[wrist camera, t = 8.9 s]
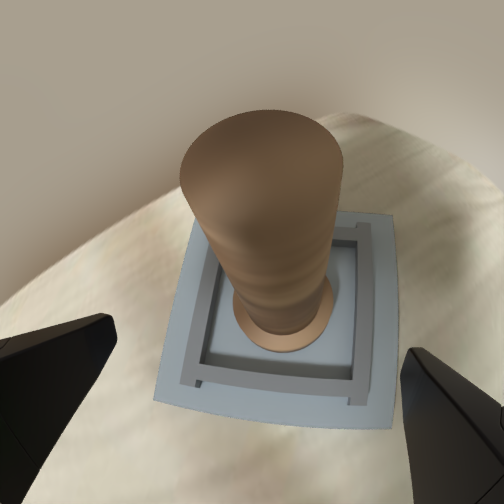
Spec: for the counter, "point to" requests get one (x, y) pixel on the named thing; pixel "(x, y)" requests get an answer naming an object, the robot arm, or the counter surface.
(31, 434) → the robot arm
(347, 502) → the counter surface
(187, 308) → the base plate
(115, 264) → the counter surface
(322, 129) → the flanged spindle
